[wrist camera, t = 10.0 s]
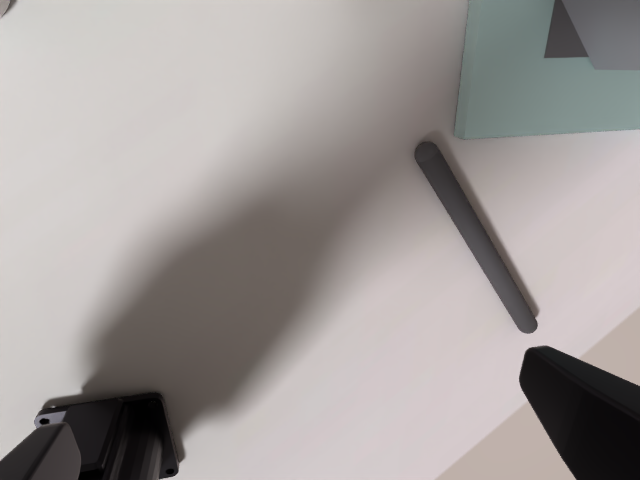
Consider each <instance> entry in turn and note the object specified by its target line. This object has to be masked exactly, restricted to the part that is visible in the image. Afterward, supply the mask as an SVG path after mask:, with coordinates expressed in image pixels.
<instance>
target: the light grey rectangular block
mask: <svg viewBox="0 0 640 480" xmlns="http://www.w3.org/2000/svg"><path fill="white" fill-rule="evenodd" d="M562 2H563V4H564V6H565V8H566V10H567V12H568V15H569V17H570V19H571V21H572V23H573V25H574V27H575V29H576V31H577V33H578V35H579V37H580V39H581V42H582V44H583V46H584V48H585V50H586V52H587V54H588V56H589V58H590V60H591V62H592V64H593V66H594V69H595V70H640V0H562Z"/></svg>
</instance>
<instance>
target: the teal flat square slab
mask: <svg viewBox="0 0 640 480" xmlns="http://www.w3.org/2000/svg"><path fill="white" fill-rule="evenodd" d="M635 129H640V70H595V69H594V66H593V64H592V62H591V60H590V58H589V56H588V54H587V52H586V50H585V48H584V46H583V44H582V42H581V39H580V37H579V35H578V33H577V31H576V29H575V27H574V25H573V23H572V21H571V19H570V17H569V15H568V12H567V10H566V8H565V6H564V4H563V2H562V0H469V9H468V17H467V26H466V35H465V44H464V52H463V61H462V70H461V78H460V87H459V96H458V104H457V113H456V122H455V131H454V136H455V137H458V138H461V139H480V138H498V137H515V136H532V135H549V134H566V133H584V132H601V131H618V130H635Z"/></svg>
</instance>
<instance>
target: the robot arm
mask: <svg viewBox="0 0 640 480" xmlns="http://www.w3.org/2000/svg"><path fill="white" fill-rule="evenodd" d="M519 382H520V386H521V388H522V391H523V392H524V394H525V396H526V398H527V399H528V401H529V403H530V404H531V406H532V408H533V410H534V411H535V413H536V415H537V417H538V418H539V420H540V422H541V423H542V425H543V427H544V429H545V430H546V432H547V434H548V436H549V437H550V439H551V441H552V443H553V444H554V446H555V448H556V449H557V451H558V453H559V454H560V456H561V458H562V459H563V461H564V462H565V464H566V465H567V466H568V468H569V470H570V471H571V472H572V474H573V475H574V477H575V478H576V480H640V386H638V385H636V384H634V383H631V382H629V381H627V380H624V379H622V378H620V377H618V376H615V375H613V374H611V373H609V372H606V371H604V370H602V369H599V368H597V367H595V366H593V365H590V364H588V363H586V362H583V361H581V360H579V359H577V358H575V357H572V356H570V355H568V354H565V353H563V352H561V351H559V350H556V349H554V348H552V347H549V346H538V347H531V348H529V349H527V350H526V352H525V355H524V359H523V363H522V367H521V371H520V376H519ZM151 401H155V403H153V402H151ZM45 418H47V419H45ZM34 423H35V426H36V428H37V429H35V430H34V431H33V432H32V433H31V434H30V435H29V436H28V437H26V438H25V439H24V440H23V441H22V442H21V443H20V444H19V445H17V446H16V447H15V448H14V449H13V450H12V451H11V452H10V453H9V454H7V455H6V456H5V457H4V458H3V459H2V460H1V461H0V480H159V479H163V478H168V477H173V476H175V475H176V474H177V473H178V471H179V461H178V457H177V452H176V448H175V444H174V440H173V435H172V431H171V427H170V423H169V419H168V414H167V410H166V406H165V402H164V398H163V396H162V395H161V394H160V393H157V392H153V393H146V394H140V395H133V396H126V397H120V398H113V399H107V400H100V401H94V402H87V403H81V404H74V405H68V406H61V407H55V408H48V409H43V410H41V411H40V412H39V413H38V414H37V416H36V418H35V420H34Z"/></svg>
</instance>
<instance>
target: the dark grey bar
mask: <svg viewBox="0 0 640 480" xmlns="http://www.w3.org/2000/svg"><path fill="white" fill-rule="evenodd" d="M415 159H416V161H417V163H418V165H419V166H420V168H421V169H422V171H423V173H424V174H425V176H426V178H427V179H428V181H429V183H430V184H431V186H432V188H433V189H434V191H435V192H436V194H437V196H438V197H439V199H440V201H441V202H442V204H443V206H444V207H445V209H446V210H447V212H448V214H449V215H450V217H451V219H452V220H453V222H454V224H455V225H456V227H457V229H458V230H459V232H460V233H461V235H462V237H463V238H464V240H465V242H466V243H467V245H468V247H469V248H470V250H471V251H472V253H473V255H474V256H475V258H476V260H477V261H478V263H479V265H480V266H481V268H482V270H483V271H484V273H485V274H486V276H487V278H488V279H489V281H490V283H491V284H492V286H493V288H494V289H495V291H496V293H497V294H498V296H499V297H500V299H501V301H502V302H503V304H504V306H505V307H506V309H507V311H508V312H509V314H510V315H511V317H512V319H513V320H514V322H515V324H516V325H517V327H518V329H519V330H520V331H522V332H523V333H527V334H529V333H533V332H534V331H535V330H536V329H537V326H538V324H537V321H536V319H535V317H534V315H533V314H532V312H531V310H530V308H529V307H528V305H527V303H526V301H525V300H524V298H523V296H522V294H521V293H520V291H519V289H518V287H517V286H516V284H515V282H514V280H513V278H512V277H511V275H510V273H509V271H508V270H507V268H506V266H505V264H504V263H503V261H502V259H501V257H500V256H499V254H498V252H497V250H496V249H495V247H494V245H493V243H492V242H491V240H490V238H489V236H488V235H487V233H486V231H485V229H484V228H483V226H482V224H481V222H480V220H479V219H478V217H477V215H476V213H475V212H474V210H473V208H472V206H471V205H470V203H469V201H468V199H467V198H466V196H465V194H464V192H463V191H462V189H461V187H460V185H459V184H458V182H457V180H456V178H455V177H454V175H453V173H452V171H451V170H450V168H449V166H448V164H447V162H446V161H445V159H444V157H443V155H442V154H441V152H440V150H439V148H438V147H437V146H436V145H435V144H434V143H431V142H424V143H422V144H420V145H419V146H418V147H417V148H416V151H415Z"/></svg>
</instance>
